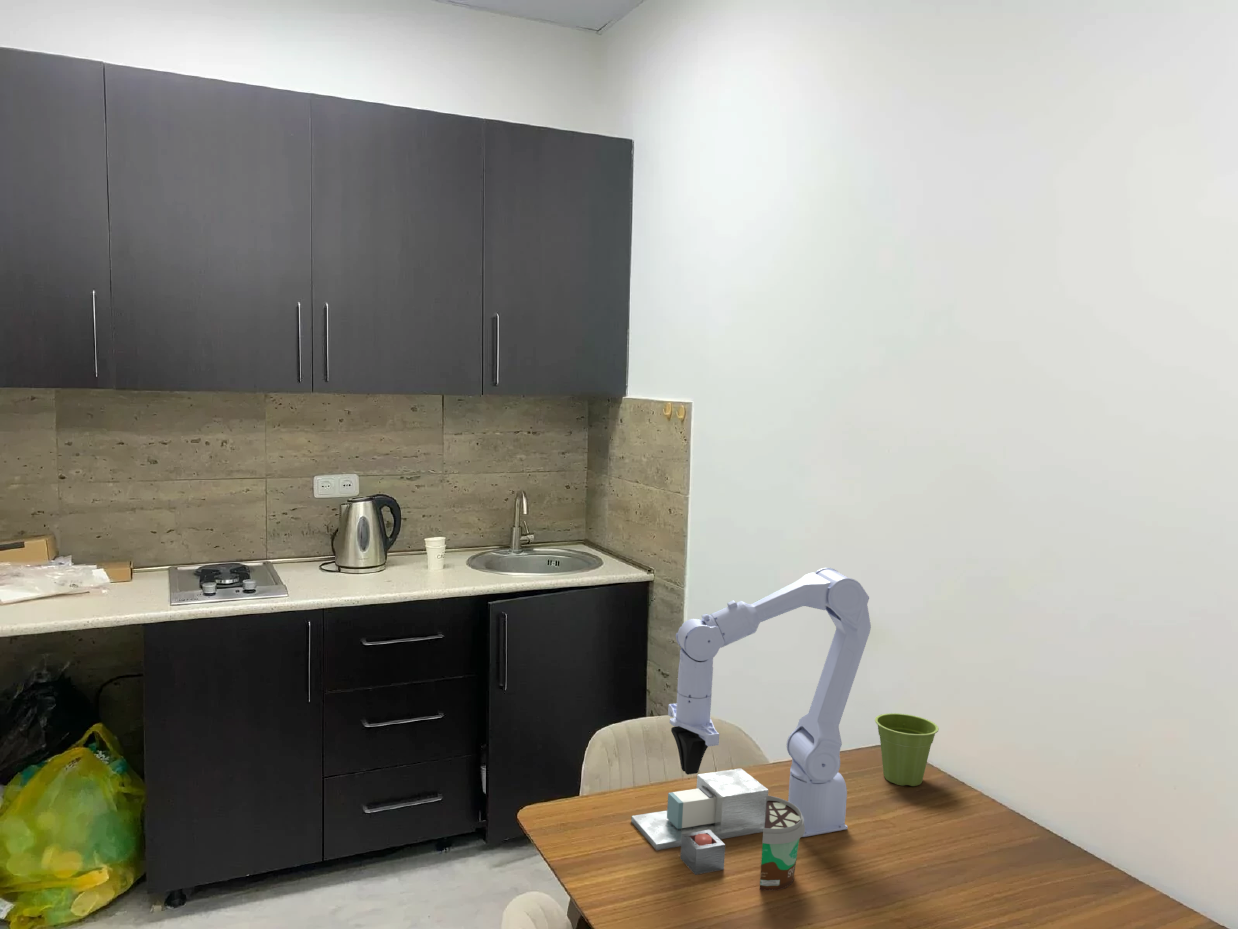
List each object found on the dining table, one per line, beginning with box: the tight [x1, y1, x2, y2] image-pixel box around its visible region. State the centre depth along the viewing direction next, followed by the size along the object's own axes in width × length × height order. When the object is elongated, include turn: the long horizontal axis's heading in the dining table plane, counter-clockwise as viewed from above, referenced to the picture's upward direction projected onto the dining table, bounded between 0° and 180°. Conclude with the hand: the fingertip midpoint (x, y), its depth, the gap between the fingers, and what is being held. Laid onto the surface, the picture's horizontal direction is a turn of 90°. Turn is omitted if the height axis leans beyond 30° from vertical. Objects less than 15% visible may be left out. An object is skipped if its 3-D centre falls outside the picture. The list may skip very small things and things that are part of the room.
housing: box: [630, 767, 769, 851], centre depth 152 cm, size 21×10×7 cm, turn 113°
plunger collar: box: [679, 830, 726, 876], centre depth 140 cm, size 5×5×4 cm
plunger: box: [695, 834, 712, 846], centre depth 140 cm, size 3×3×4 cm
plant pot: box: [874, 712, 940, 787], centre depth 175 cm, size 12×12×11 cm
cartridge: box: [666, 787, 717, 829], centre depth 153 cm, size 14×4×5 cm, turn 113°
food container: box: [759, 794, 805, 891], centre depth 137 cm, size 12×6×10 cm, turn 168°
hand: (689, 771), depth 151 cm, fingers closed
